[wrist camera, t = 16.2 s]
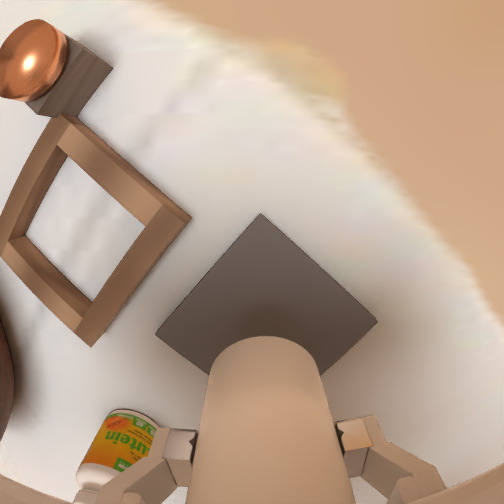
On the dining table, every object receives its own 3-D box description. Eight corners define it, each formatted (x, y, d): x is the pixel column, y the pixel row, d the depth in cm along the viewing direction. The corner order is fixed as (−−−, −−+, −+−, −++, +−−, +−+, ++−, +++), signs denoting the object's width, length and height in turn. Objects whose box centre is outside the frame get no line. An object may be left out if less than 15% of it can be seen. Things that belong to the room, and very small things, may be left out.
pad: (375, 317, 20) (377, 321, 19) (270, 410, 21) (270, 415, 21) (260, 213, 18) (260, 214, 17) (157, 330, 20) (154, 334, 19)
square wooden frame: (236, 166, 17) (230, 164, 14) (102, 333, 20) (77, 363, 16) (76, 41, 15) (45, 22, 11) (-19, 206, 18) (-53, 214, 14)
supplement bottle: (172, 423, 22) (142, 522, 13) (159, 458, 23) (134, 544, 14) (109, 397, 22) (59, 486, 12) (104, 435, 23) (64, 514, 13)
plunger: (109, 63, 15) (67, 36, 10) (65, 122, 16) (14, 113, 11) (70, 35, 14) (27, 9, 10) (31, 90, 15) (-18, 77, 10)
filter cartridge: (340, 373, 14) (408, 567, 4) (269, 432, 15) (277, 609, 5) (257, 314, 13) (264, 561, 3) (188, 385, 14) (139, 583, 4)
